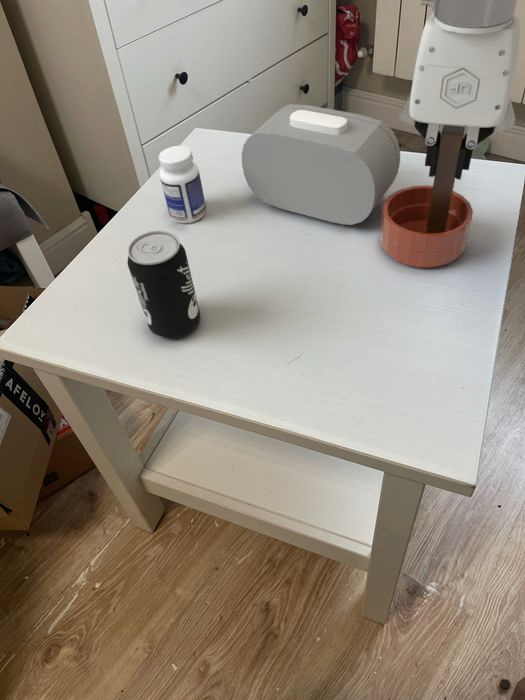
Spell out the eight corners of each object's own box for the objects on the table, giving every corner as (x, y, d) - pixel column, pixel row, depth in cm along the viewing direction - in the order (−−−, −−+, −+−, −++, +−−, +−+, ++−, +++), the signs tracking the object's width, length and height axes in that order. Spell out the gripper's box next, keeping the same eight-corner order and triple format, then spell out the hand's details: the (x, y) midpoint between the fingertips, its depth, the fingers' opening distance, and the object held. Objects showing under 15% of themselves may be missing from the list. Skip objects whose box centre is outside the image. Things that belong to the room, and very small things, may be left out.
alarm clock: (397, 201, 84) (406, 113, 74) (371, 237, 79) (378, 147, 69) (276, 172, 92) (271, 89, 82) (246, 203, 87) (236, 119, 77)
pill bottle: (201, 199, 89) (190, 139, 81) (211, 218, 85) (199, 158, 78) (166, 208, 88) (151, 149, 80) (174, 228, 84) (159, 168, 77)
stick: (446, 224, 76) (465, 124, 65) (444, 235, 74) (463, 134, 64) (427, 222, 76) (444, 122, 66) (425, 233, 75) (441, 133, 64)
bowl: (468, 224, 79) (476, 190, 75) (459, 276, 72) (468, 241, 68) (388, 214, 82) (391, 181, 78) (372, 263, 75) (375, 229, 71)
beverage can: (189, 346, 68) (168, 269, 59) (140, 336, 70) (113, 261, 61) (208, 308, 72) (192, 231, 63) (162, 300, 74) (139, 224, 65)
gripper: (386, 15, 55) (374, 181, 69) (565, 20, 51) (514, 197, 65) (399, -10, 60) (385, 150, 74) (564, -8, 55) (517, 162, 69)
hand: (446, 171), depth 69 cm, fingers closed on stick, 2 cm apart
